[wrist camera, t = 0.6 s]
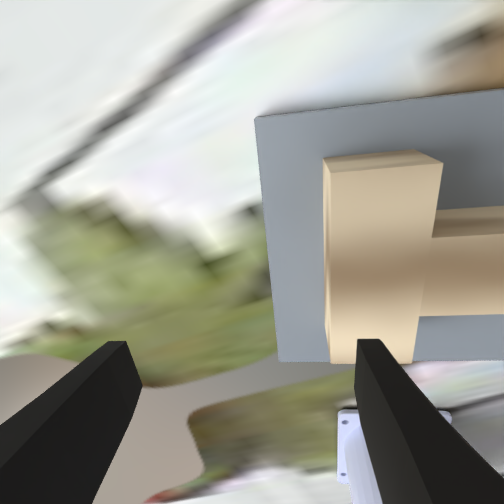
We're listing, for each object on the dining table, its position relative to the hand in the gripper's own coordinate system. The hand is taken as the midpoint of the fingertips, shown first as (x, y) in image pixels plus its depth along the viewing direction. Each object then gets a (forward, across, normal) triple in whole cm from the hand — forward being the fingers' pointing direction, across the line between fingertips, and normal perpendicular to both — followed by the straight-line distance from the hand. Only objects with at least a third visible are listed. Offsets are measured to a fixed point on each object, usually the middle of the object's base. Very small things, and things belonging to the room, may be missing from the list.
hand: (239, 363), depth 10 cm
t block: (+8, -9, 0) cm, 12 cm away
